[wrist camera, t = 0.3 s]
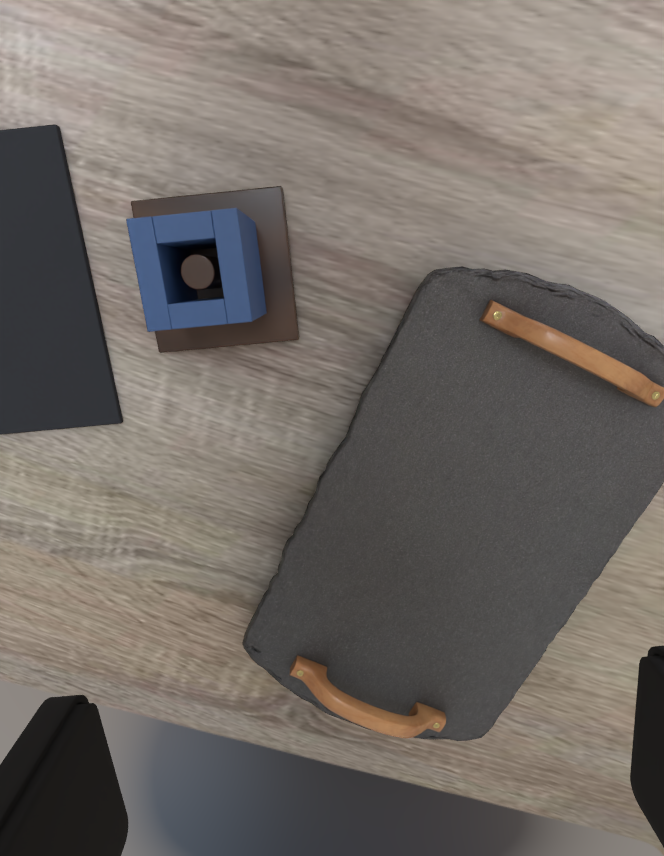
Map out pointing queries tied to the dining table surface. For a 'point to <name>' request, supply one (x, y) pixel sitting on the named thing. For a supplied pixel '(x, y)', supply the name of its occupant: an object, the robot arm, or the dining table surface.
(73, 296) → the mat
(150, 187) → the dining table surface
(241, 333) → the dowel stand
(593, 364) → the serving tray
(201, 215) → the block
